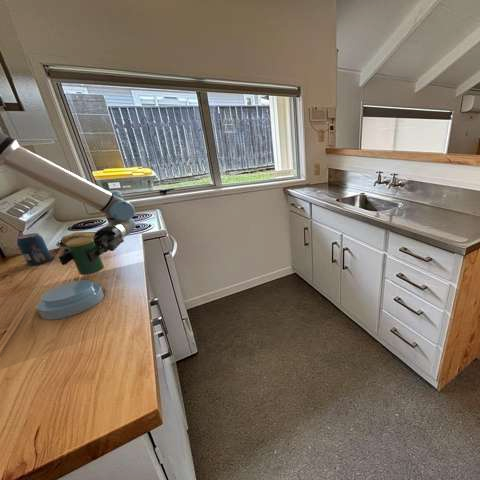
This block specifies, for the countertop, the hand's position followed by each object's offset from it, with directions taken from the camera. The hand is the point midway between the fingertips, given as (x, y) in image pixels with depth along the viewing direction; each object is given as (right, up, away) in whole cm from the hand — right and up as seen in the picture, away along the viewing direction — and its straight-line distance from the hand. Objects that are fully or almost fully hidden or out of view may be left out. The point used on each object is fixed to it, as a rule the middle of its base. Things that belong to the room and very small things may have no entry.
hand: (75, 259), depth 81 cm
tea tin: (-1, -4, +7) cm, 8 cm away
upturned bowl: (+4, -13, -4) cm, 14 cm away
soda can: (-36, -4, +23) cm, 43 cm away
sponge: (-33, +3, +39) cm, 51 cm away
